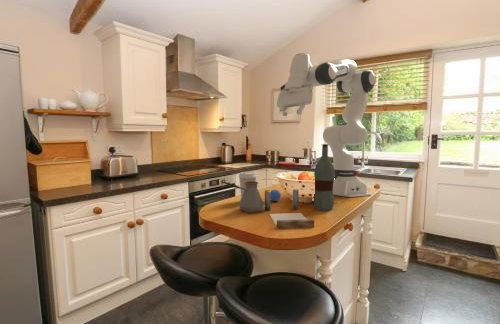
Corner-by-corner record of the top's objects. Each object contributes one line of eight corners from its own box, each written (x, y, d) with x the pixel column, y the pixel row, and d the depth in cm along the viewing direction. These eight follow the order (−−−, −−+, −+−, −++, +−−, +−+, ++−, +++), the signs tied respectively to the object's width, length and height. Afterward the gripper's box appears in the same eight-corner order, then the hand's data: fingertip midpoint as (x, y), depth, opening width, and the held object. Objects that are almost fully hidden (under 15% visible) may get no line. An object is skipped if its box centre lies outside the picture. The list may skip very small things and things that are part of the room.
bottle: (319, 204, 139) (321, 143, 135) (337, 208, 132) (339, 144, 129) (309, 208, 132) (310, 144, 129) (327, 212, 126) (329, 145, 122)
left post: (269, 209, 131) (269, 190, 130) (270, 210, 129) (270, 191, 128) (264, 209, 131) (264, 190, 130) (265, 210, 129) (265, 191, 128)
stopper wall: (312, 225, 109) (312, 219, 109) (314, 227, 107) (314, 220, 107) (276, 226, 107) (276, 220, 107) (277, 228, 105) (277, 222, 105)
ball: (279, 199, 150) (279, 188, 149) (281, 202, 144) (281, 190, 143) (268, 199, 149) (268, 188, 149) (270, 202, 143) (270, 191, 143)
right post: (297, 208, 133) (297, 189, 132) (298, 209, 130) (299, 190, 129) (291, 208, 133) (292, 189, 132) (293, 209, 130) (293, 190, 129)
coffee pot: (252, 205, 138) (252, 175, 136) (269, 210, 130) (269, 178, 128) (216, 214, 124) (215, 180, 123) (232, 220, 116) (231, 184, 114)
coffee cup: (240, 199, 150) (240, 171, 149) (258, 199, 149) (258, 171, 147) (237, 203, 141) (236, 174, 139) (256, 204, 140) (256, 174, 138)
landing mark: (300, 213, 125) (300, 212, 125) (310, 223, 111) (310, 223, 111) (269, 214, 123) (269, 214, 123) (275, 225, 109) (275, 224, 109)
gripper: (317, 85, 128) (312, 115, 127) (286, 92, 144) (281, 118, 143) (308, 80, 124) (303, 110, 123) (277, 88, 141) (272, 115, 140)
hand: (291, 115), depth 133 cm, fingers open, 8 cm apart
